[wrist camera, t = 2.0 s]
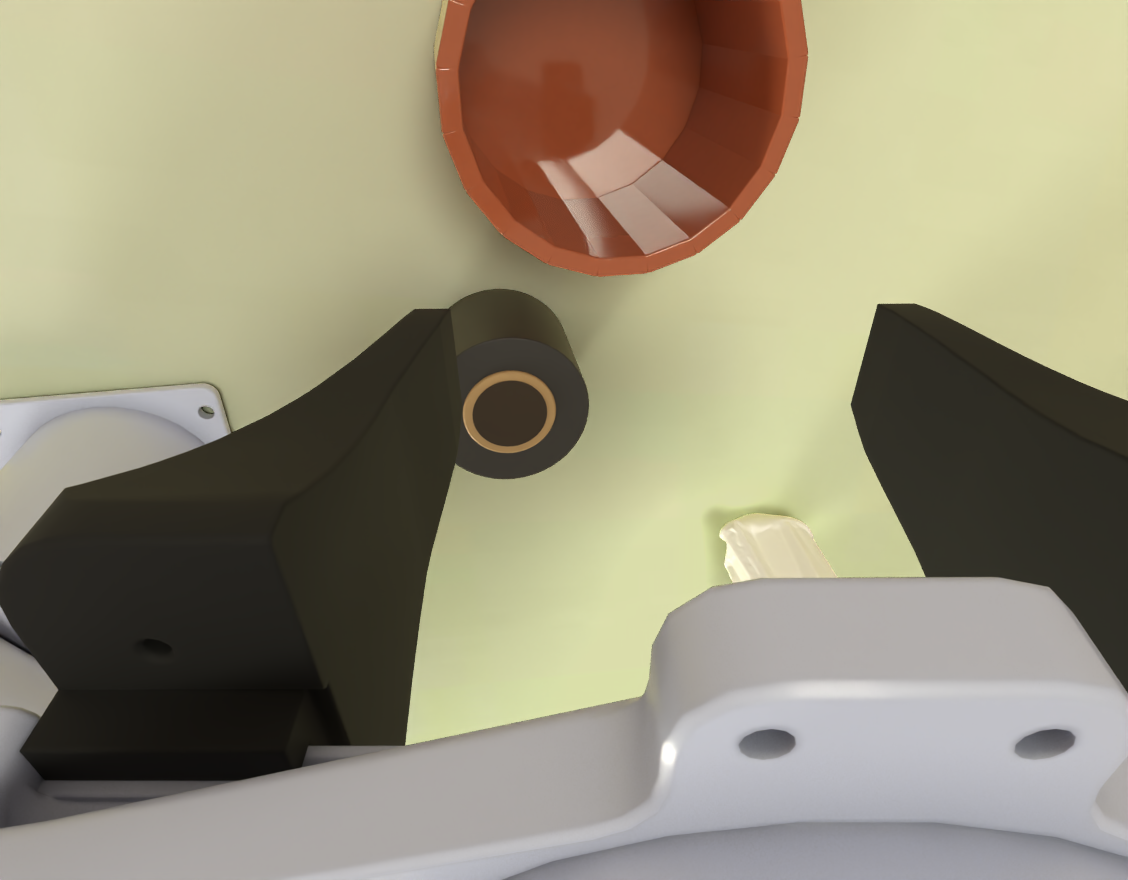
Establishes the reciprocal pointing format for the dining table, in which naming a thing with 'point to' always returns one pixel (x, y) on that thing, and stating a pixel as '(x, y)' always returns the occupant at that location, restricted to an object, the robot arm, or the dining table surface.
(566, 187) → the pen cup
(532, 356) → the tape roll
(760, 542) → the shaker set
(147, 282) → the dining table surface
